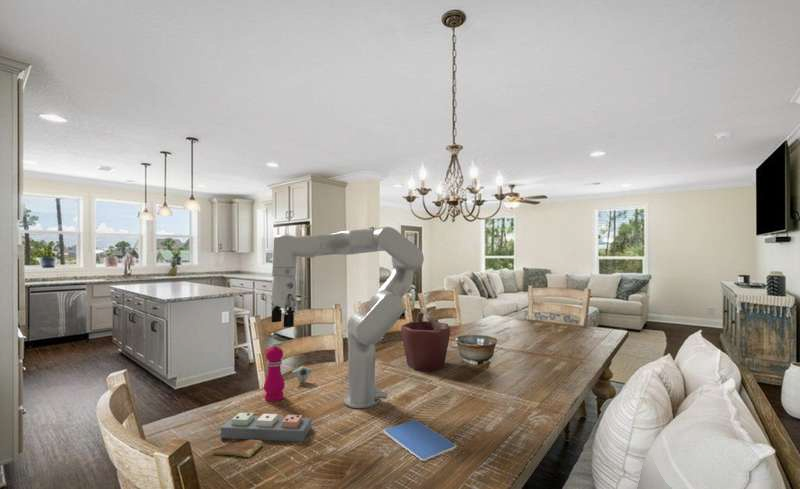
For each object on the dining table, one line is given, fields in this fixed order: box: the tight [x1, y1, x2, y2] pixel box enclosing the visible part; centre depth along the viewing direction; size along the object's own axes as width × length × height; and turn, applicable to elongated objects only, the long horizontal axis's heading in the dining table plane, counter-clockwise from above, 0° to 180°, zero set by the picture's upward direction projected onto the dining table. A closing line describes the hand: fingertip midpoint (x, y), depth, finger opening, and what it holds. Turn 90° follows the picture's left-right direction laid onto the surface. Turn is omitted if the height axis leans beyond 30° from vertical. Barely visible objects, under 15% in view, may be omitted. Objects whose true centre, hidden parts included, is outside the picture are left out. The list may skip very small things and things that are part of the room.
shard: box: [211, 439, 263, 458], centre depth 102 cm, size 11×8×2 cm
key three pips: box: [282, 414, 303, 428], centre depth 110 cm, size 4×4×2 cm
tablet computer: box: [382, 419, 458, 461], centre depth 107 cm, size 19×13×1 cm, turn 36°
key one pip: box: [257, 413, 279, 427], centre depth 111 cm, size 4×4×2 cm
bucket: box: [400, 310, 451, 373], centre depth 175 cm, size 24×22×25 cm
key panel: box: [220, 414, 313, 443], centre depth 111 cm, size 24×8×3 cm, turn 86°
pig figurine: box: [291, 365, 312, 384], centre depth 152 cm, size 8×4×7 cm, turn 117°
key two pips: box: [232, 412, 255, 426], centre depth 111 cm, size 4×4×2 cm
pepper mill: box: [263, 342, 286, 402], centre depth 136 cm, size 7×7×20 cm
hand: (282, 324), depth 124 cm, fingers open, 9 cm apart
